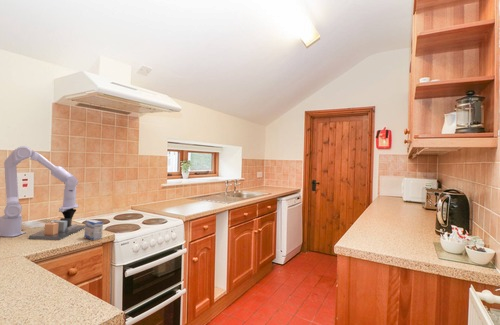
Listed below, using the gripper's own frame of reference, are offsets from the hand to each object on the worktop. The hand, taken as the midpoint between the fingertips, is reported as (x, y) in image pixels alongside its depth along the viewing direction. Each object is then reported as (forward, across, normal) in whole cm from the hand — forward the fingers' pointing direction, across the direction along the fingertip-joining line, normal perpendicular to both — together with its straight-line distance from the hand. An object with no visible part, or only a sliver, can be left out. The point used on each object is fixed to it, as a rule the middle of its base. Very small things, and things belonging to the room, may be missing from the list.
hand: (68, 222), depth 151 cm
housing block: (+2, -14, 0) cm, 14 cm away
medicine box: (+4, -14, -20) cm, 24 cm away
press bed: (+4, -7, 0) cm, 8 cm away
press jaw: (+2, -6, 0) cm, 6 cm away
